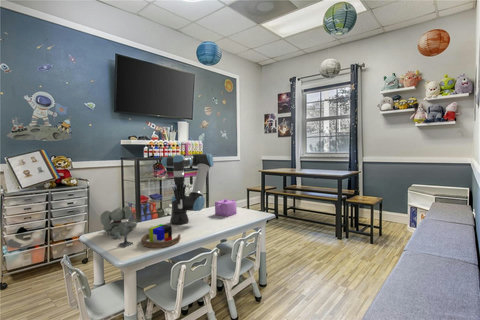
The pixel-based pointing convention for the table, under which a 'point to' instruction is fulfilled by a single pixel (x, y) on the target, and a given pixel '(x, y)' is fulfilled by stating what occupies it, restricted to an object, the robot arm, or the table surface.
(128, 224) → the dial gauge stand
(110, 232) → the plush elephant
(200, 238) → the table surface
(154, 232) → the puzzle toy
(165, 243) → the rim
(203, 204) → the robot arm
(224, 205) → the purple lidded box
